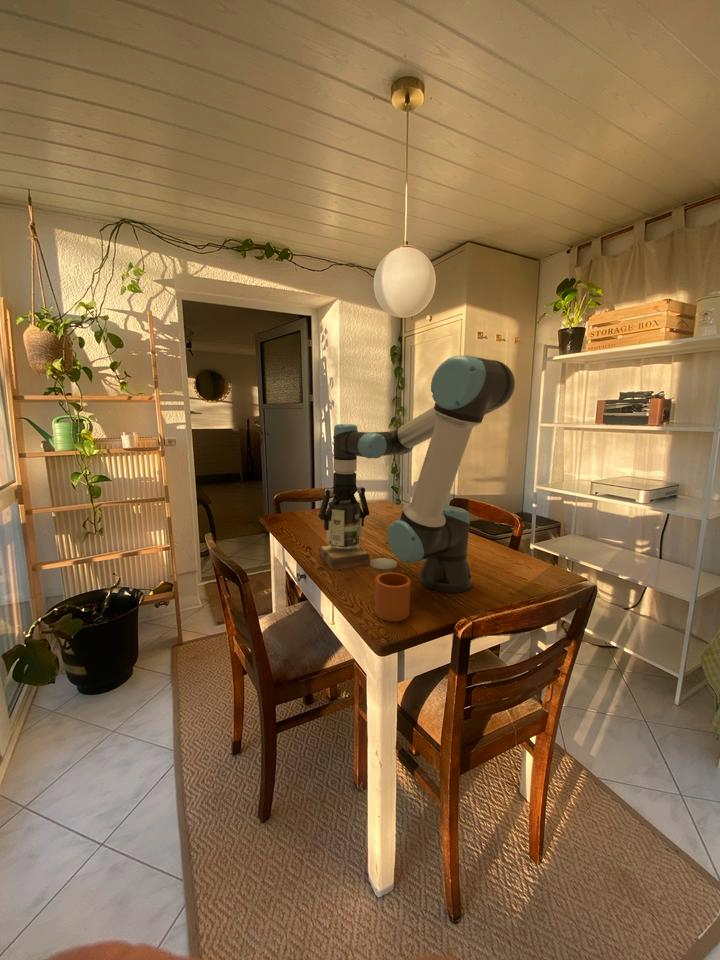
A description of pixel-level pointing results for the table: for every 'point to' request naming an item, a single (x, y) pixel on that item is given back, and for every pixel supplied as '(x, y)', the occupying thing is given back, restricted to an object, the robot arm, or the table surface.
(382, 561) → the felt coaster
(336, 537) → the coffee can
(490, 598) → the table surface
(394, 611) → the mug
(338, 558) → the block
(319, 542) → the table surface
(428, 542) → the robot arm
